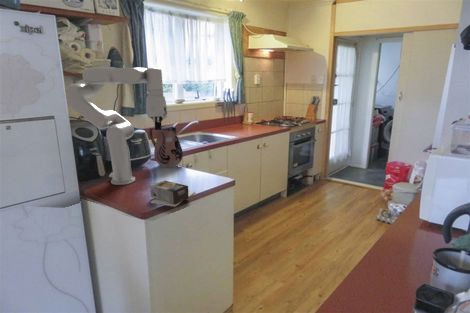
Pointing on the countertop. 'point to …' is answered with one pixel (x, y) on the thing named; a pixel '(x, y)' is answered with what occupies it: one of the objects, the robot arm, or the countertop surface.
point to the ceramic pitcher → (167, 146)
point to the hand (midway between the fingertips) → (158, 129)
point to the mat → (170, 203)
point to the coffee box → (169, 192)
